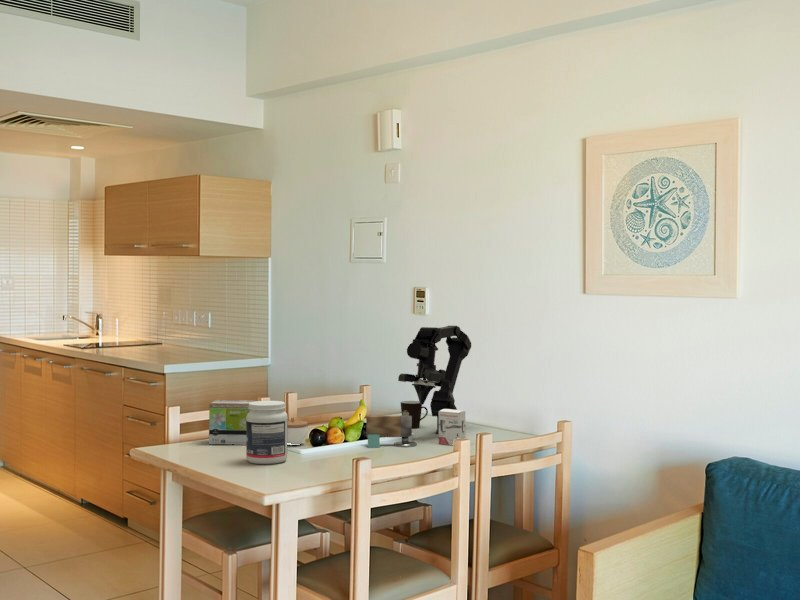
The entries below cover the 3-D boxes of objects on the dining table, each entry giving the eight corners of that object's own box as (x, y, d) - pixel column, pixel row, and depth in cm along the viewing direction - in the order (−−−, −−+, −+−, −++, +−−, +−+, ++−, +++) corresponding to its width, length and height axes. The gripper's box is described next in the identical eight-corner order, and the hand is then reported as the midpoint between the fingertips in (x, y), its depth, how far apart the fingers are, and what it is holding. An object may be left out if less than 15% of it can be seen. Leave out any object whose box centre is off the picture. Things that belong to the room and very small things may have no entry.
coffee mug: (396, 426, 342) (396, 401, 342) (416, 425, 345) (416, 400, 345) (409, 430, 331) (409, 404, 331) (429, 429, 335) (429, 403, 335)
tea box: (208, 445, 299) (208, 402, 299) (213, 440, 309) (213, 399, 309) (252, 445, 300) (252, 402, 300) (256, 440, 310) (256, 399, 310)
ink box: (437, 444, 302) (437, 410, 302) (443, 442, 307) (443, 408, 307) (460, 446, 298) (460, 411, 298) (466, 444, 303) (466, 410, 303)
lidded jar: (305, 441, 307) (305, 415, 307) (310, 446, 297) (310, 419, 297) (275, 442, 305) (275, 416, 304) (279, 448, 294) (279, 420, 294)
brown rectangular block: (411, 435, 303) (411, 415, 303) (412, 437, 298) (412, 417, 298) (366, 435, 302) (366, 415, 302) (366, 437, 298) (366, 417, 298)
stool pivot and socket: (371, 442, 306) (371, 429, 306) (417, 443, 304) (417, 430, 304) (366, 447, 295) (366, 434, 295) (415, 448, 293) (415, 435, 293)
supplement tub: (252, 457, 278) (252, 399, 278) (291, 457, 277) (292, 400, 277) (240, 464, 265) (240, 405, 265) (282, 465, 264) (282, 405, 264)
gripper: (414, 358, 303) (409, 402, 301) (459, 364, 312) (455, 408, 310) (400, 358, 313) (395, 401, 311) (444, 364, 322) (440, 406, 320)
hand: (421, 404), depth 313 cm, fingers closed
